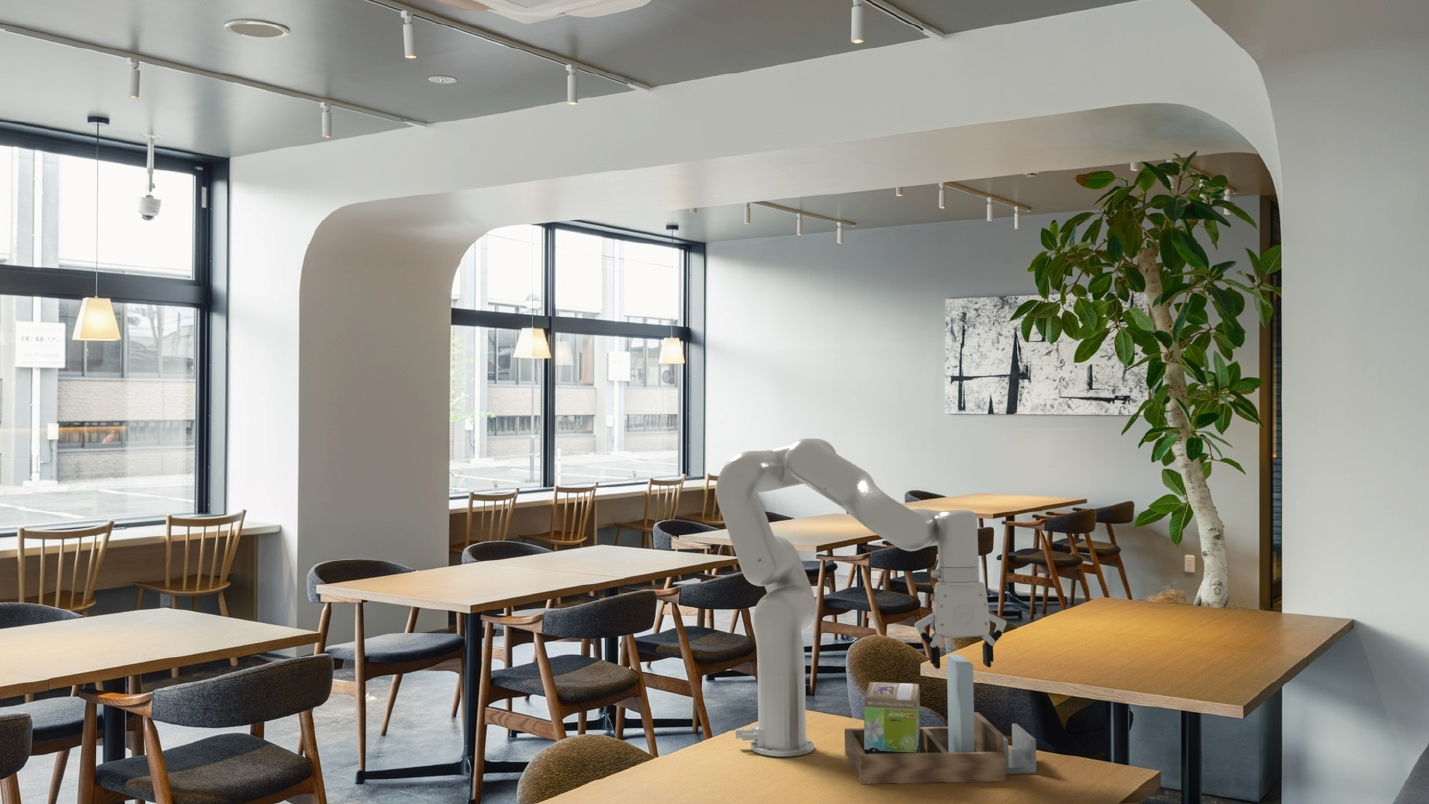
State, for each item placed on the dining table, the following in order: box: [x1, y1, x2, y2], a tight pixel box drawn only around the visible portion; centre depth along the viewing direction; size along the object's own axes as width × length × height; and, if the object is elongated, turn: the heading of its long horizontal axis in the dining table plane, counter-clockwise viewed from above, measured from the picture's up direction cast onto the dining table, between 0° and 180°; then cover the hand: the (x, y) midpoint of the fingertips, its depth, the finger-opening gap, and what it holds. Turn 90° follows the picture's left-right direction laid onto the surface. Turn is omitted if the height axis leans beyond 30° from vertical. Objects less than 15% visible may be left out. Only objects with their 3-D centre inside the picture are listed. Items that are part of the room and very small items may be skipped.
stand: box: [1003, 723, 1037, 775], centre depth 218 cm, size 6×12×6 cm, turn 2°
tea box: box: [863, 681, 921, 754], centre depth 217 cm, size 15×10×15 cm
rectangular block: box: [946, 654, 975, 752], centre depth 218 cm, size 2×10×20 cm, turn 2°
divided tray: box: [844, 711, 1007, 785], centre depth 217 cm, size 26×20×8 cm
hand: (961, 666), depth 218 cm, fingers open, 9 cm apart
